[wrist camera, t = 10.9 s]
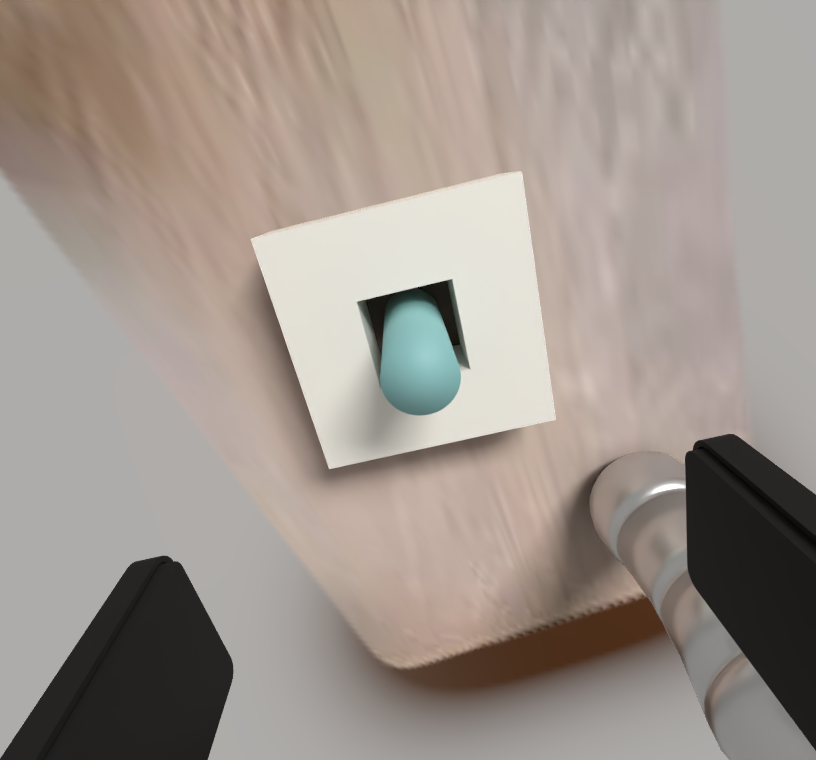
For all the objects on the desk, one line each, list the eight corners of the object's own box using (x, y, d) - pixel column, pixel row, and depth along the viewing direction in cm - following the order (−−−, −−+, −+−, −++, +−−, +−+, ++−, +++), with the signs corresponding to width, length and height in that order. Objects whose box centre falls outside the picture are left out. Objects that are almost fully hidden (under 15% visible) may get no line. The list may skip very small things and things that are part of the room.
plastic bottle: (703, 469, 31) (1152, 886, 13) (629, 542, 33) (926, 994, 15) (629, 419, 30) (1014, 806, 11) (556, 498, 32) (783, 938, 13)
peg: (378, 295, 27) (371, 350, 18) (433, 282, 27) (452, 331, 18) (391, 346, 28) (391, 423, 19) (444, 334, 28) (467, 406, 19)
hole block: (271, 231, 25) (250, 239, 22) (502, 173, 25) (521, 171, 21) (337, 433, 30) (329, 469, 26) (535, 389, 29) (555, 419, 25)
